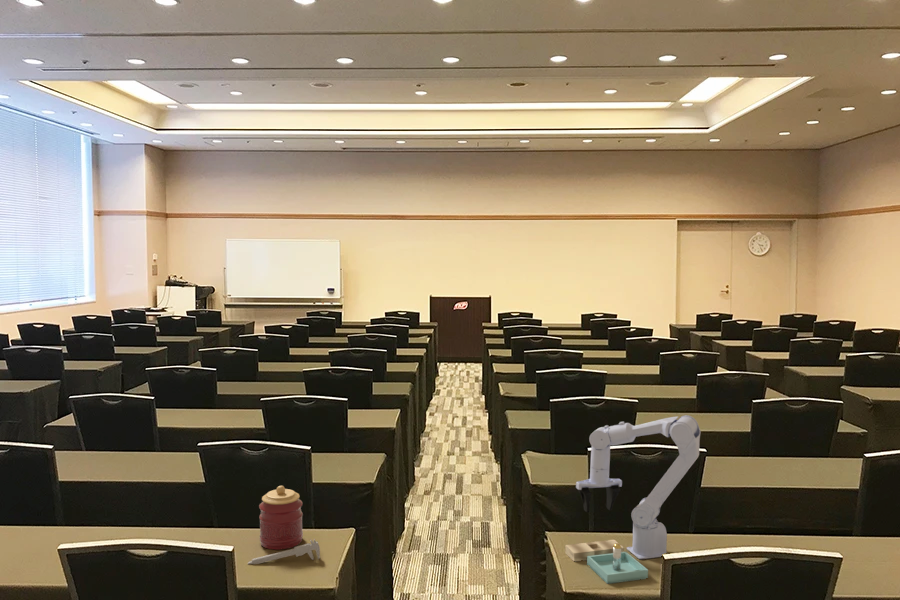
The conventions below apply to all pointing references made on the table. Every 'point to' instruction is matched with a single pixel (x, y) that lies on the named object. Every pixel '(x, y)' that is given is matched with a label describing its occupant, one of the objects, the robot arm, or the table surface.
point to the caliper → (290, 553)
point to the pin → (617, 557)
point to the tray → (627, 573)
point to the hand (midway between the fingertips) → (597, 510)
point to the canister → (281, 519)
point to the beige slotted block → (590, 549)
